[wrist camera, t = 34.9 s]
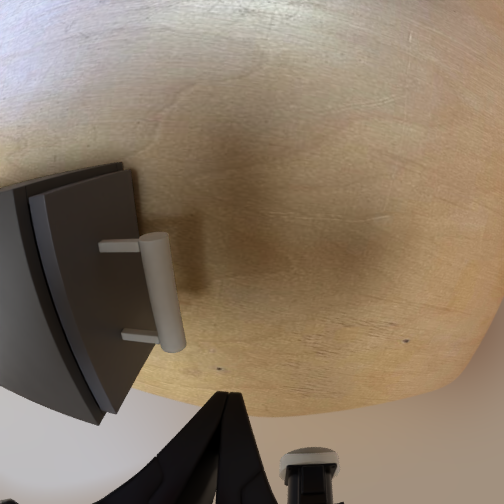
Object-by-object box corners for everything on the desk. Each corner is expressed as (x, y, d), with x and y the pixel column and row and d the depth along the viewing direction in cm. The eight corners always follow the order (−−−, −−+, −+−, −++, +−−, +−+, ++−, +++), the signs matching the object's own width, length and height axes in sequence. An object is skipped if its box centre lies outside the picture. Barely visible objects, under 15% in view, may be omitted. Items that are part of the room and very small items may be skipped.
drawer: (189, 162, 18) (121, 182, 10) (209, 340, 23) (179, 427, 15) (2, 193, 20) (-67, 220, 12) (35, 318, 25) (-14, 366, 17)
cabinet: (122, 161, 20) (12, 189, 9) (152, 334, 25) (99, 426, 15) (-4, 188, 21) (-83, 219, 11) (29, 316, 26) (-28, 370, 16)
